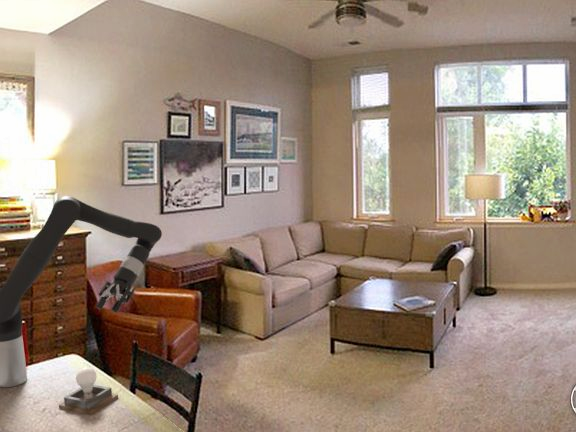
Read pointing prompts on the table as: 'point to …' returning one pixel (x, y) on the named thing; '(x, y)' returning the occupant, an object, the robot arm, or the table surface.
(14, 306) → the robot arm
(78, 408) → the bulb stand
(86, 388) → the lightbulb
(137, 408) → the table surface
